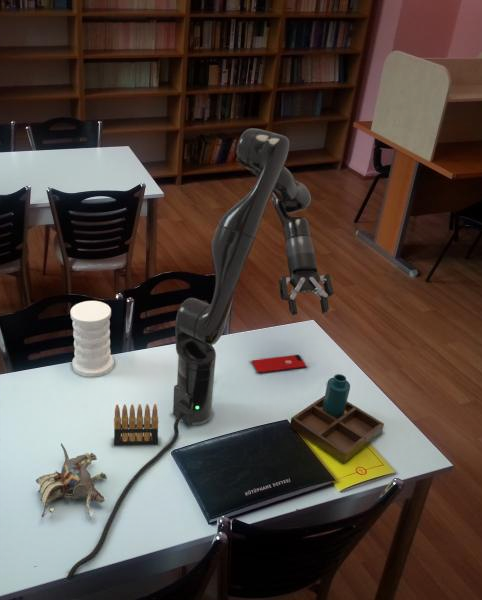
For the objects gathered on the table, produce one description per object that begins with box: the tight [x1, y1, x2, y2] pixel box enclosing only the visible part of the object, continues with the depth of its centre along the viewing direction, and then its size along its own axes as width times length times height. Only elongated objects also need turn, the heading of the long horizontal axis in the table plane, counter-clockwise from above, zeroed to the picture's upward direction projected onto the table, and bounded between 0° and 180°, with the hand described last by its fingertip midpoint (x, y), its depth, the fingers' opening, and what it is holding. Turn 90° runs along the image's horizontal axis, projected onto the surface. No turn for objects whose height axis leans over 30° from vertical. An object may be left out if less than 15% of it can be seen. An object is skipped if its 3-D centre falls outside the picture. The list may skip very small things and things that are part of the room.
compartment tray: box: [289, 395, 385, 464], centre depth 157 cm, size 17×17×3 cm
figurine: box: [35, 442, 108, 520], centre depth 133 cm, size 20×6×17 cm
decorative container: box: [69, 300, 115, 378], centre depth 171 cm, size 12×12×18 cm
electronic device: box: [251, 354, 307, 374], centre depth 180 cm, size 6×1×15 cm
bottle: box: [322, 373, 351, 419], centre depth 159 cm, size 6×6×12 cm
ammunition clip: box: [113, 403, 159, 447], centre depth 146 cm, size 11×2×12 cm, turn 95°
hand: (310, 313), depth 163 cm, fingers open, 8 cm apart
